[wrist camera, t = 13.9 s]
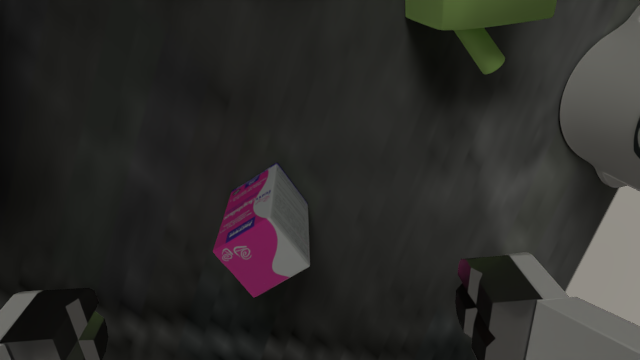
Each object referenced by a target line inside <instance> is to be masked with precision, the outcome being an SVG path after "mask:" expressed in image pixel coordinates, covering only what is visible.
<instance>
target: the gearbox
mask: <svg viewBox="0 0 640 360" xmlns="http://www.w3.org/2000/svg"><path fill="white" fill-rule="evenodd" d="M556 2H557V0H405V14H406V17H407V18H409V19H411V20H414V21H416V22H419V23H421V24H424V25H427V26H429V27H432V28H435V29H438V30H454V32H455V33H456V35H457V36H458V38H459V39H460V41H461V42H462V44H463V45H464V47H465V48H466V50H467V51H468V52H469V54H470V55H471V57H472V58H473V60H474V61H475V63H476V64H477V66H478V67H479V69H480V70H481V72H482V73H483V74H490V73H492V72H494V71H496V70H497V69H498V68H500V67H501V66H502V64H503V63H504V61H505V57H504V56H503V54H502V53H501V51H500V50H499V48H498V47H497V46H496V44H495V43H494V41H493V40H492V38H491V37H490V36H489V34H488V33H487V31H486V30H485V27H493V26H501V25H508V24H515V23H522V22H528V21H535V20H541V19H547V18H552V17H553V15H554V12H555V7H556Z"/></svg>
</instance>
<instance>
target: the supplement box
mask: <svg viewBox="0 0 640 360" xmlns="http://www.w3.org/2000/svg"><path fill="white" fill-rule="evenodd" d="M213 253H214V254H215V255H216V256H217V257H218V258H219V259H220V261H221V262H222V263H223V264H224V265H225V266H226V267H227V268H228V269H229V270H230V271H231V272H232V273H233V275H234V276H235V277H236V278H237V279H238V280H239V281H240V283H241V284H242V285H243V286H244V287H245V288H246V289H247V291H248V292H249V293H250V294H251V295H252V296H253V297H254V298H255V297H257V296H259V295H260V294H262V293H264V292H266V291H268V290H269V289H271V288H273V287H275V286H277V285H278V284H280V283H282V282H283V281H285V280H287V279H289V278H291V277H292V276H294V275H296V274H297V273H299V272H301V271H303V270H304V269H306V268H308V267H310V252H309V224H308V203H307V202H306V200H305V199H304V197H303V196H302V195H301V193H300V192H299V191H298V189H297V188H296V187H295V186H294V184H293V183H292V181H291V180H290V179H289V177H288V176H287V175H286V173H285V172H284V171H283V169H282V168H281V167H280V165H279V164H278V163H275V164H274V165H272V166H271V167H269V168H268V169H267V170H265V171H264V172H262V173H261V174H259V175H257V176H256V177H254V178H253V179H251V180H249V181H248V182H246V183H245V184H243V185H241V186H240V187H238V188H236V189H234V190H233V191H232V193H231V196H230V199H229V202H228V205H227V209H226V212H225V215H224V218H223V221H222V224H221V227H220V231H219V234H218V237H217V240H216V243H215V246H214V249H213Z"/></svg>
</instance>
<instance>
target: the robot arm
mask: <svg viewBox="0 0 640 360" xmlns="http://www.w3.org/2000/svg"><path fill="white" fill-rule="evenodd" d="M560 124H561V129H562V133H563V135H564V138H565V140H566V142H567V144H568V145H569V147H570V148H571V149H572V150H573V151H574V152H575V153H576V154H577V155H578V156H580V157H581V158H583V159H584V160H586V161H587V162H589V163H590V164H591V165H592V166H594V168H595V170H596V172H597V174H598V176H599V178H600V180H601V181H602V182H603V183H604V184H606V185H608V186H610V187H613V188H619V187H623V186H627V185H628V186H630V187H632V188H634V189H636V190H638V191H640V5H639V6H638V7H637V9H636V10H635V11H634V12H633V14H632V15H631V16H630V17H629V19H628V20H627V21H626V22H625V23H624V24H623V25H621V26H620V27H619V28H617V29H616V30H614V31H613V32H611V33H610V34H608V35H607V36H605V37H604V38H603V39H601V40H600V41H599V42H598V43H596V44H595V45H594V46H593V47H592V48H591V49H590V50H589V51H588V52H587V53H586V54H585V55H584V57H583V58H582V59H581V60H580V62H579V63H578V64H577V66H576V67H575V69H574V71H573V72H572V74H571V76H570V78H569V80H568V82H567V84H566V87H565V90H564V93H563V96H562V100H561V106H560ZM458 276H459V277H460V279H461V281H462V284H461V285H460V286H459V288H458V289H457V290H456V300H455V303H456V311H457V316H458V320H459V323H460V325H461V327H462V330H463V332H464V333H466V334H467V335H469V336H470V337H472V344H471V348H472V350H473V352H474V354H475V356H476V358H477V360H640V326H638V325H636V324H634V323H631V322H629V321H627V320H625V319H623V318H621V317H618V316H616V315H614V314H612V313H610V312H608V311H606V310H603V309H601V308H599V307H597V306H595V305H593V304H590V303H588V302H586V301H584V300H582V299H580V298H578V297H569V296H568V295H567V294H566V293H565V292H564V291H563V289H562V288H561V287H560V286H559V285H558V284H557V283H556V281H555V280H554V279H553V278H552V277H551V276H550V275H549V273H548V272H547V271H546V270H545V269H544V268H543V267H542V265H541V264H540V263H539V262H538V261H537V260H536V259H535V257H534V256H533V255H532V254H530V253H528V252H524V253H514V254H505V255H502V256H490V257H478V258H467V259H461V260H460V263H459V267H458ZM98 304H99V301H98V298H97V295H96V293H95V290H93V289H91V288H73V289H55V290H44V291H41V290H40V291H26V292H20V293H17V294H14V295H13V296H12V297H11V298H10V300H9V301H8V302H7V303H6V304H5V305H4V307H3V308H2V309H1V310H0V360H102V359H103V357H104V354H105V352H106V347H107V342H108V331H107V325H106V322H105V319H104V318H103V317H102V316H100V315H99V314H98V313H96V312H95V310H96V308H97V306H98Z"/></svg>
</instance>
